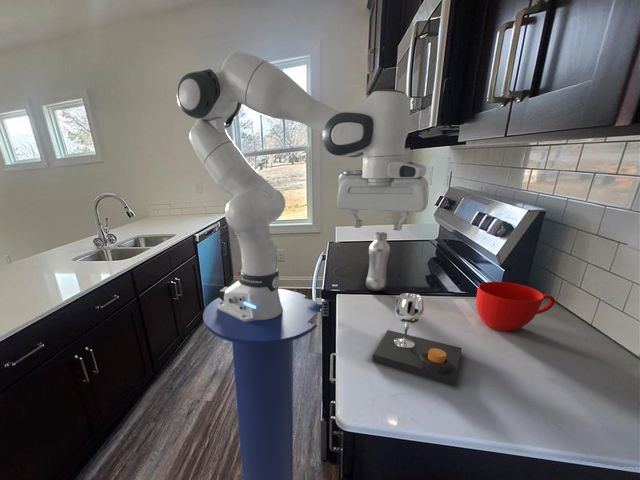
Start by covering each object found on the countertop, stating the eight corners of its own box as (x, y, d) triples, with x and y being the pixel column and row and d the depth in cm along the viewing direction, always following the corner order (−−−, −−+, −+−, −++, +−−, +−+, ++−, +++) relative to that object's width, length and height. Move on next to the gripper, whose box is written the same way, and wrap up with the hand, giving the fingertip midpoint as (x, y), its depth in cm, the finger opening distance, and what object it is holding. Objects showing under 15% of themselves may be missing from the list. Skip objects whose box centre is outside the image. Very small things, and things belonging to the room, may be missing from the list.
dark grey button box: (371, 361, 73) (373, 348, 72) (386, 336, 82) (388, 324, 81) (454, 386, 64) (457, 372, 62) (460, 354, 73) (463, 341, 72)
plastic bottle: (383, 295, 106) (389, 236, 99) (362, 291, 110) (367, 234, 103) (388, 288, 111) (394, 232, 103) (368, 285, 115) (373, 230, 107)
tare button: (426, 360, 67) (427, 353, 66) (428, 353, 69) (430, 346, 68) (444, 365, 65) (445, 358, 64) (445, 358, 67) (447, 351, 67)
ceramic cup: (564, 339, 76) (578, 302, 73) (485, 337, 79) (495, 300, 76) (528, 315, 88) (539, 281, 84) (461, 313, 91) (468, 281, 87)
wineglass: (415, 352, 72) (423, 304, 67) (388, 345, 75) (394, 299, 71) (420, 340, 76) (427, 295, 72) (394, 334, 79) (400, 290, 75)
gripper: (334, 171, 77) (331, 228, 82) (429, 168, 65) (420, 234, 70) (343, 170, 82) (340, 223, 87) (434, 167, 70) (424, 229, 75)
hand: (376, 228), depth 78 cm, fingers open, 8 cm apart
